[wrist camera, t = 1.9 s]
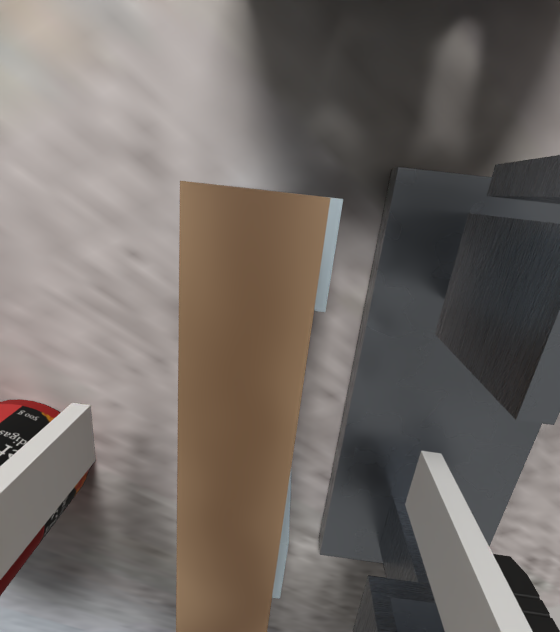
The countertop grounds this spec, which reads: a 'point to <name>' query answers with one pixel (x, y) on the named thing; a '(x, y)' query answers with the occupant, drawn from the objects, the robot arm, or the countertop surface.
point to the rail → (239, 392)
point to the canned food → (6, 439)
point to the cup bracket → (446, 368)
